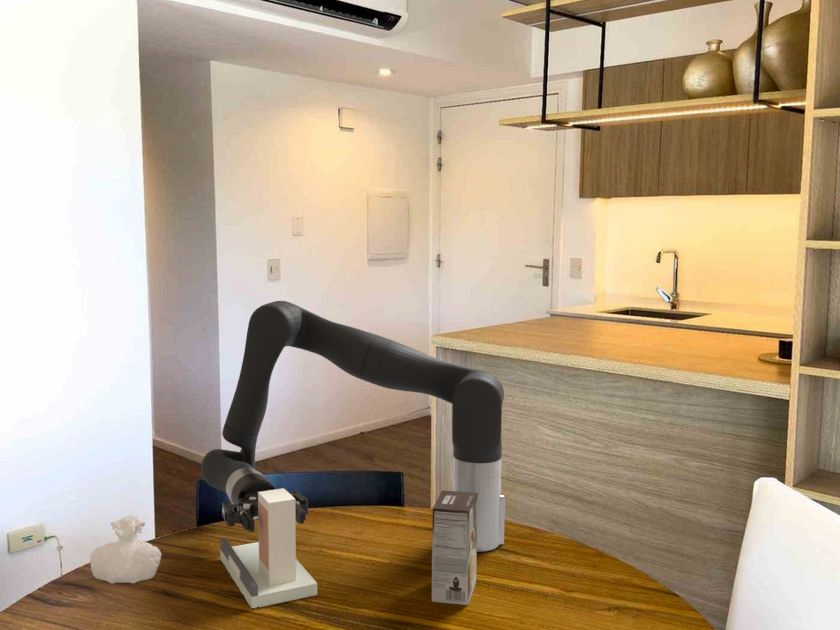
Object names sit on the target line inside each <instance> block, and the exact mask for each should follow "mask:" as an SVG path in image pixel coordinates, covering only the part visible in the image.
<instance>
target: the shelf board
mask: <svg viewBox="0 0 840 630" xmlns="http://www.w3.org/2000/svg"><path fill="white" fill-rule="evenodd" d="M219 543H220V545H219V547H220V548H219V551H220V553H219V554H220V556H219V557H220V561H221V562H222V565H225V566H224V567H225V569H226V570H227V572H228V574H229V573H230V574H229V575H230V577H231V578H232V580H233V581H234V583H235V584H236V586H237V588H238V587H239V588H238V589H239V590H240V593H241V594H242V596H243V595H244V596H243V597H244V598H245V600H246V602H247V604H248V605H249V607H250V606H251V607H250V608H251V609H252V608H254V609H258V608H257V607H259V608H264V607H267V606H272V605H277V604H282V603H285V602H292V601H295V600H299V599H300V600H301V599H305V598H310V597H314V596H318V582H317V581H316V580H315V579H314V578H313V576H311V574H310V573H309V572H308V571H307V570H306V568H305V567H304V566H303V565H302V563H300V562H299V560H298V559H297V558H296V580H295V581H290V582H285V583H280V584H275V585H271V586H270V585H269V584H268V583H267V581H266V580H265V579H264V577H263V576H262V575H261V573H260V572H259V541H257V542H251V543H246V544H238V545H233V546H232V545H231V544H230V543H229V541H228V539H227V538H221V539H219Z"/></svg>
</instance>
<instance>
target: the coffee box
mask: <svg viewBox="0 0 840 630" xmlns="http://www.w3.org/2000/svg"><path fill="white" fill-rule="evenodd" d="M440 492H441V493H440V494H439V496H438V498H437V499H436V501H435V503H434V505H433V507H432V528H431V529H432V530H431V531H432V534H431V536H432V537H431V541H432V543H431V545H432V547H431V602H433V603H441V604H453V605H462V606H469V604H470V601H471V599H472V595H473V592H474V589H475V586H476V582H477V556H478V555H477V499H478V493H474V492H459V491H453V490H442V491H440Z"/></svg>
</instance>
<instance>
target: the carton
mask: <svg viewBox="0 0 840 630" xmlns="http://www.w3.org/2000/svg"><path fill="white" fill-rule="evenodd" d="M257 521H258V523H257V524H258V542H259V572H260V573H261V575H262V576H263V577H264V579H265V580H266V581H267V583H268V584H269V585H270V586H271V585H275V584H280V583H285V582H290V581H295V580H296V559H297V551H296V550H297V549H296V548H297V547H296V545H297V542H296V541H297V540H296V538H297V537H296V533H297V532H296V531H297V530H296V526H297V525H296V522H297V521H296V514H295V498H294V497H293V496H292V495H291V492H289V491H288V490H286V489H285V488H284V487H283V488H275V490H269V491H262V492H258V520H257Z"/></svg>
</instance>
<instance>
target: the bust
mask: <svg viewBox="0 0 840 630" xmlns="http://www.w3.org/2000/svg"><path fill="white" fill-rule="evenodd" d="M110 525H111V526H112V530H115V532H114V533H115V535H116V536H117V538H118V540H117V541H115V542H109V543H105V544H104V545H102V546H97V547H96V548H95V549H94V550H93V551H92V552H90V553H91V554H90V558H89V563H90V570H91V573H92V575H93V577H94V578H95V579H96V580H100V581H103V582H104V581H106V582H107V583H110V584H122V583H123V584H127V583H129V584H137V583H138V582H141V581H146V580H150V579H153V578H154V577H155V575H156V573H157V571H158V568H159V565H160V562H161V559H162V552H161V550H160V549H159V548H158V547H157V546H155V545H152V544H151V543H149V542H146V541H143V542H140V539H139V537H138V535H137V534H140V535H141V534H142V533H143V527H145V526H146V522H145V521H143V520H141V519H140V518H139V517H138V516H135V515H132V514H130V515H127V516H124V517H121V519H120V518H119V520H115V522H114V521H112V522H110Z"/></svg>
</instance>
